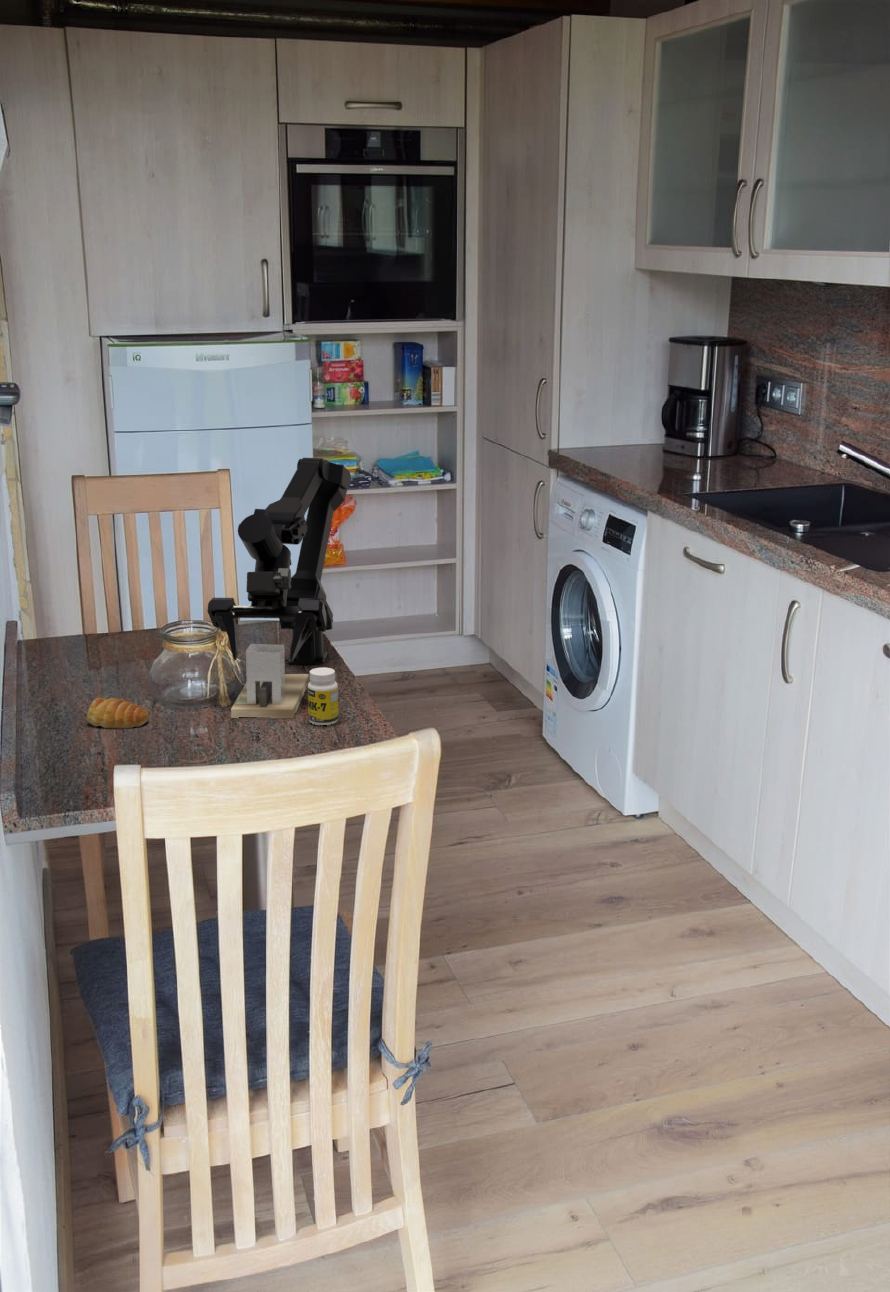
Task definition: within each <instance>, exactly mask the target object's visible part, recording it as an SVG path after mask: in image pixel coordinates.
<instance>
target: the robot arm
mask: <svg viewBox="0 0 890 1292" xmlns="http://www.w3.org/2000/svg"><path fill="white" fill-rule="evenodd" d="M351 483H352V475H351V472H350V470H349V469H347V468H346V467H345V465H344V464H340V463H339V464H338V463H337V464H336V463H335V462H330V461H329V460H328V459H324V458H323V457H303V458H299V459H298V461H297V464H296V471H295V472H294V473H293V475H292V478H291V479H290V481H289V483H288V485H287V486H286V488H285V490H284V492H283V494H282V496H281V497H280V499H278V500H276V501H274V502H271V503H269V504H268V505H267V507H266V508H255V509H254V512H253V514H251V515H248V516H246V517H245V518H244V519H243V520H242V521H241V522H240V523H239V524H238V528H237V535H238V537H239V538H240V540H241V542H242V544H243V546H244V547H245V549H246V551H247V553H248V554H249V557H251V558H252V559H254V560H255V565H254V566H255V567H254V571H248V572H246V589H245V590H246V593H247V599H248V602H250V605H237V604H236V602H235V599H234V597H212V598H211V599H210V600H209V601H208V603H207V614H208V617H209V619H210V621H211V624H212V627H214V628H217V629H219V630H220V631H221V632H223V633H226V635H227V637H228V638H227V639H228V642H229V646H230V651H231V655H232V659H233V660H234V661H237V660H238V659H237V658H238V655H239V632H240V631H239V627H238V624H239V619H279V626H280V629H281V630H290V631H291V632H290V633H291V643H290V651H289V655H290V656H289V658H288V660H287V662H288V663H287V664H289V665H323V664H324V663H325V660H326V658H327V656H328V651H326V650H324V635H323V632H324V633H325V632H326V631H330V630H333V622H334V619H333V617H334V613H333V611H332V609H331V608H330V605H329V604H328V602H327V594H326V592H325V589H324V587H323V585H322V582H321V581H322V575H323V571H324V564H325V561H326V560H325V559H326V554H327V549H328V545H329V539H330V534H331V527H332V524H333V523H332V522H333V517H334V513H335V512H336V510H337V509H338V508H339V507H340V506H341V505H342V504H343V503H344V502H345V500H346V497H347V493H348V490H349V489H350V487H351ZM306 513H307V514H306ZM305 516H306V518H305ZM299 544H300V549H299V554H298V555H299V556H298V560H297V564H296V570H295V573H294V574H293V575H292V570H291V568H290V566H292V564H293V563H292V559H291V556H292V552H291V549H289V547H288V546H287V545H294V546H295V545H297V546H298V545H299Z"/></svg>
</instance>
